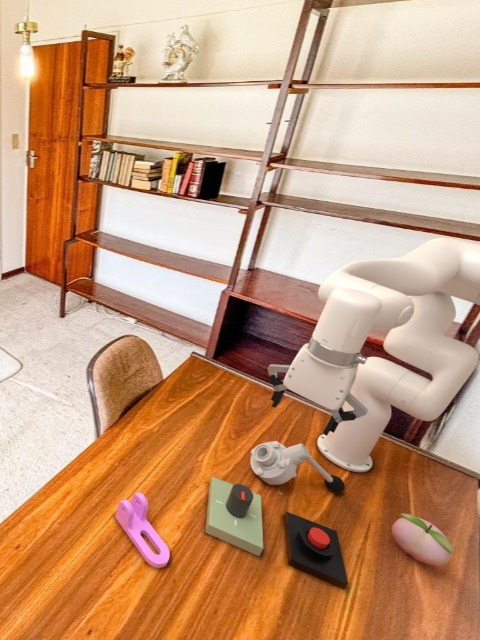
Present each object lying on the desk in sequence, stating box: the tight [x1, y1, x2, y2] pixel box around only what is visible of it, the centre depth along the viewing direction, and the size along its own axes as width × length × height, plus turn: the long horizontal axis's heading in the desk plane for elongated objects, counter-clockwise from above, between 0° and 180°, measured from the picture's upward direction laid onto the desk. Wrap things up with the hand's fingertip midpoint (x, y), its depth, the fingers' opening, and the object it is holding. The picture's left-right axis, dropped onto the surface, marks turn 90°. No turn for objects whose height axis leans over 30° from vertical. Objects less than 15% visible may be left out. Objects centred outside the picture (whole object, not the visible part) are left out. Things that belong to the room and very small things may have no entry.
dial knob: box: [226, 483, 254, 518], centre depth 91 cm, size 4×4×6 cm
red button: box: [308, 528, 330, 549], centre depth 86 cm, size 4×4×2 cm
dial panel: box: [205, 476, 264, 557], centre depth 93 cm, size 14×11×3 cm
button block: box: [283, 511, 349, 590], centre depth 87 cm, size 12×10×4 cm
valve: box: [249, 440, 346, 494], centre depth 102 cm, size 10×20×15 cm
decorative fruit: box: [391, 512, 456, 567], centre depth 86 cm, size 9×8×10 cm
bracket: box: [115, 491, 171, 569], centre depth 87 cm, size 13×6×7 cm, turn 26°
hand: (300, 417), depth 83 cm, fingers open, 9 cm apart
